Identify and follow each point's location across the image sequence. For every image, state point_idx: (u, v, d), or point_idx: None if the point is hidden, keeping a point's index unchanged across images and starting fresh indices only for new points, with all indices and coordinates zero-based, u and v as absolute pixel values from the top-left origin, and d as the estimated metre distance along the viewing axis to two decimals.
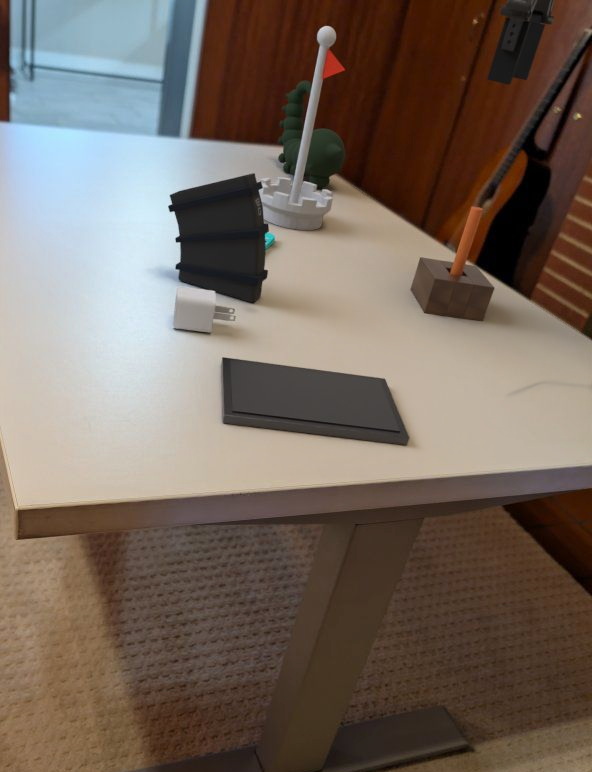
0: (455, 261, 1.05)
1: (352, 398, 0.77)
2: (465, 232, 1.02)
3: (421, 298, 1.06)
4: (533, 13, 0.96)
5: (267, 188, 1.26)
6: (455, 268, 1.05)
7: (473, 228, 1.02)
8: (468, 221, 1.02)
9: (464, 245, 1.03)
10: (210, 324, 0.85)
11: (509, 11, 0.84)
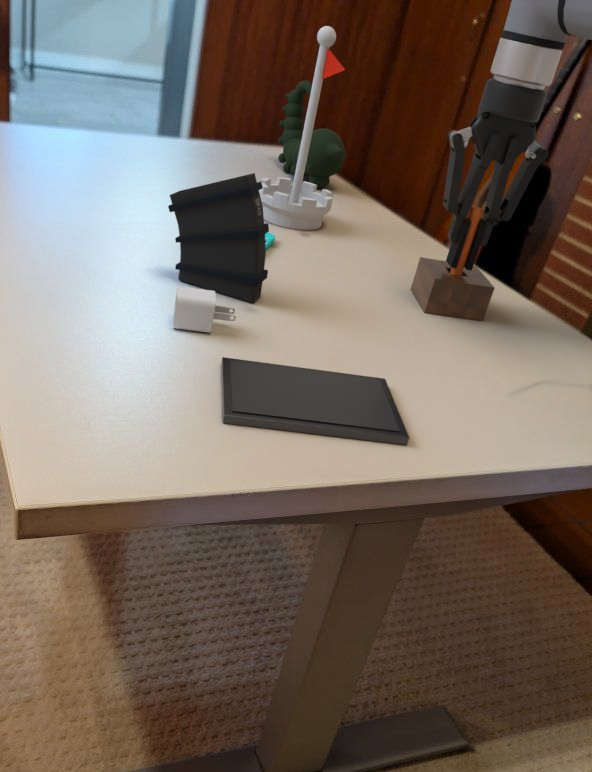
0: None
1: (352, 398, 0.77)
2: None
3: (421, 298, 1.06)
4: (485, 213, 1.02)
5: (267, 188, 1.26)
6: (455, 268, 1.05)
7: (473, 228, 1.02)
8: None
9: (464, 245, 1.03)
10: (210, 324, 0.85)
11: None
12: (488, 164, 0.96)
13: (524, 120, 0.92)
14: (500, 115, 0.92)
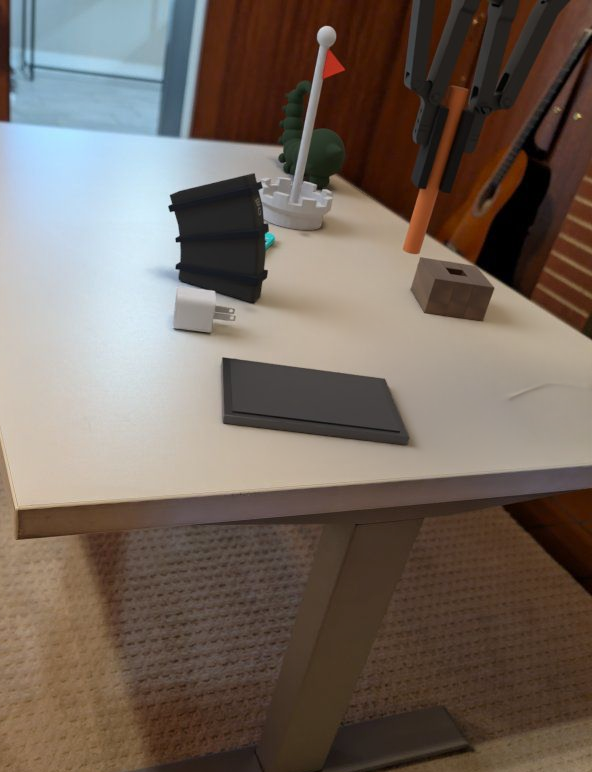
0: None
1: (352, 398, 0.77)
2: None
3: (421, 298, 1.06)
4: (472, 98, 0.63)
5: (267, 188, 1.26)
6: (425, 190, 0.66)
7: (453, 122, 0.63)
8: None
9: (439, 151, 0.64)
10: (210, 324, 0.85)
11: None
12: (477, 5, 0.57)
13: None
14: None
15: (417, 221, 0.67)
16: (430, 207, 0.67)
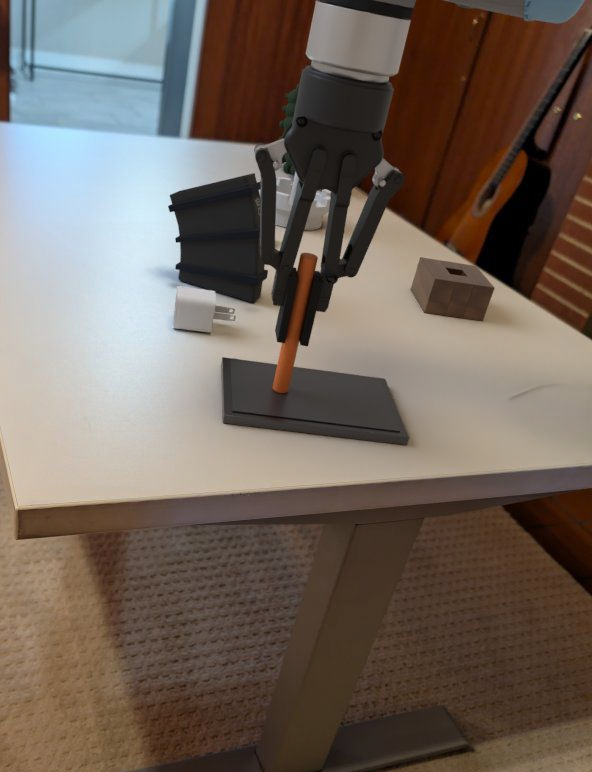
0: None
1: (352, 398, 0.77)
2: None
3: (421, 298, 1.06)
4: (322, 265, 0.69)
5: None
6: (286, 340, 0.72)
7: (305, 285, 0.69)
8: None
9: (295, 308, 0.70)
10: (210, 324, 0.85)
11: None
12: (313, 195, 0.64)
13: (356, 129, 0.59)
14: (319, 121, 0.59)
15: (282, 366, 0.74)
16: (292, 354, 0.73)
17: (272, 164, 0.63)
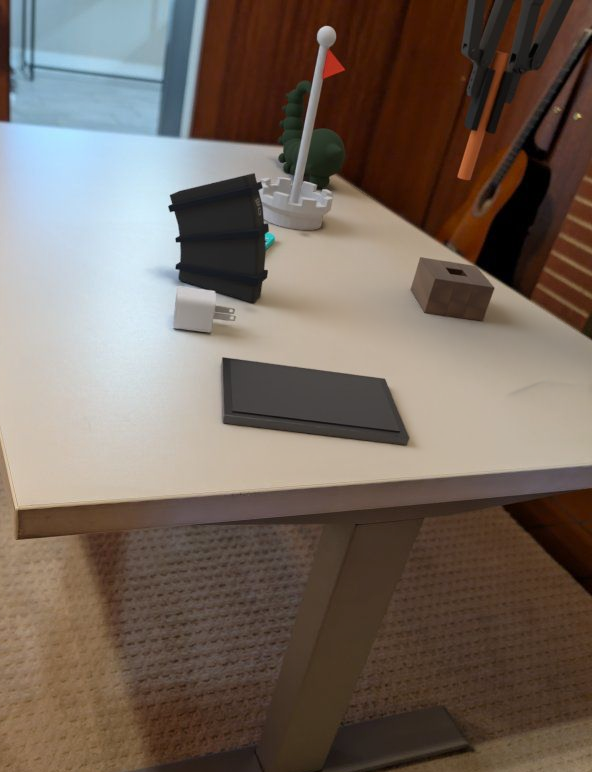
0: None
1: (352, 398, 0.77)
2: None
3: (421, 298, 1.06)
4: (511, 62, 0.86)
5: (267, 188, 1.26)
6: None
7: (497, 78, 0.86)
8: None
9: (487, 100, 0.87)
10: (210, 324, 0.85)
11: None
12: None
13: None
14: None
15: (470, 154, 0.91)
16: (479, 143, 0.90)
17: None
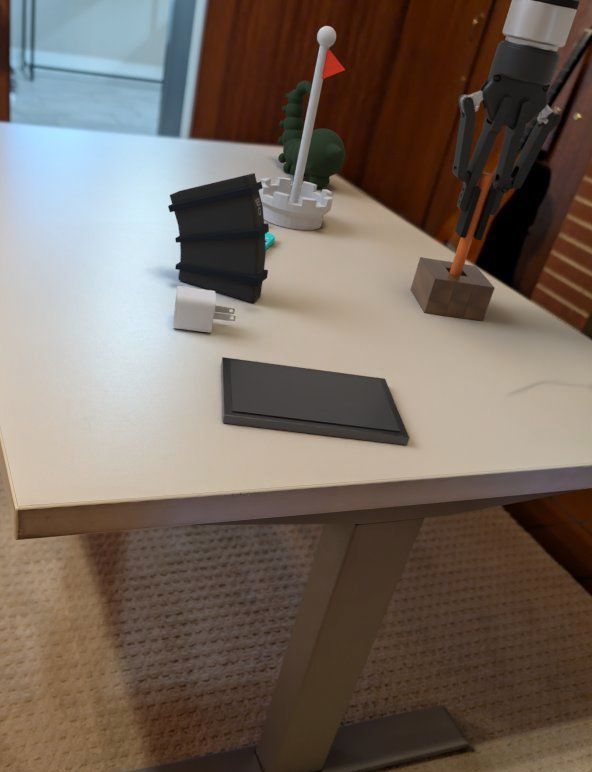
0: None
1: (352, 398, 0.77)
2: None
3: (421, 298, 1.06)
4: (495, 181, 1.00)
5: (267, 188, 1.26)
6: None
7: (483, 194, 0.99)
8: None
9: (474, 212, 1.01)
10: (210, 324, 0.85)
11: None
12: (499, 129, 0.94)
13: (537, 82, 0.90)
14: (512, 77, 0.90)
15: (459, 256, 1.04)
16: (468, 247, 1.03)
17: (474, 107, 0.93)
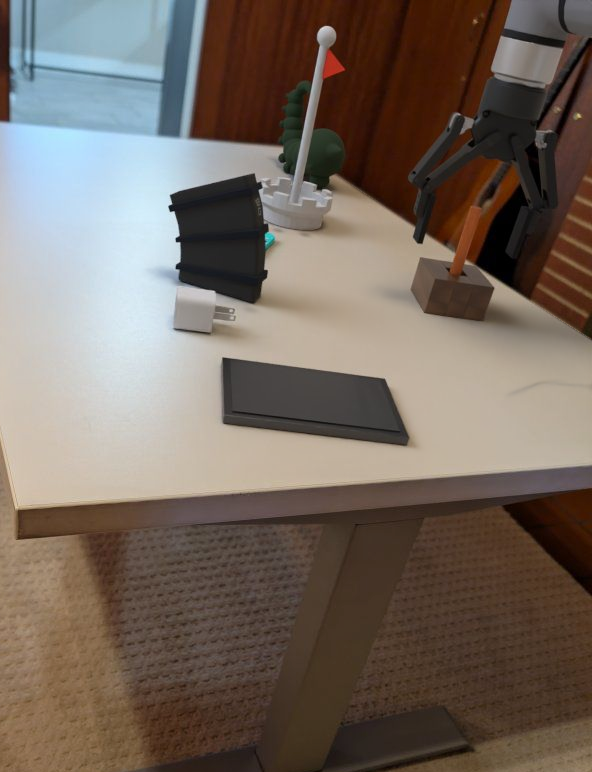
0: (454, 260, 1.05)
1: (352, 398, 0.77)
2: (464, 231, 1.03)
3: (421, 298, 1.06)
4: None
5: (267, 188, 1.26)
6: (454, 267, 1.05)
7: (472, 227, 1.02)
8: (467, 220, 1.02)
9: (463, 244, 1.03)
10: (210, 324, 0.85)
11: None
12: (476, 156, 0.96)
13: (525, 118, 0.92)
14: (501, 113, 0.92)
15: None
16: None
17: (461, 128, 0.94)
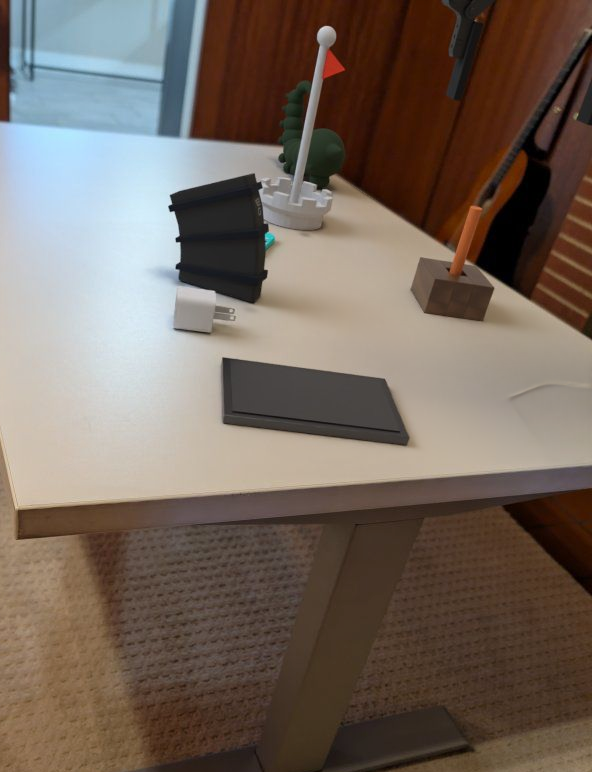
0: (454, 260, 1.05)
1: (352, 398, 0.77)
2: (464, 231, 1.03)
3: (421, 298, 1.06)
4: None
5: (267, 188, 1.26)
6: (454, 267, 1.05)
7: (472, 227, 1.02)
8: (467, 220, 1.02)
9: (463, 244, 1.03)
10: (210, 324, 0.85)
11: None
12: None
13: None
14: None
15: None
16: None
17: None
